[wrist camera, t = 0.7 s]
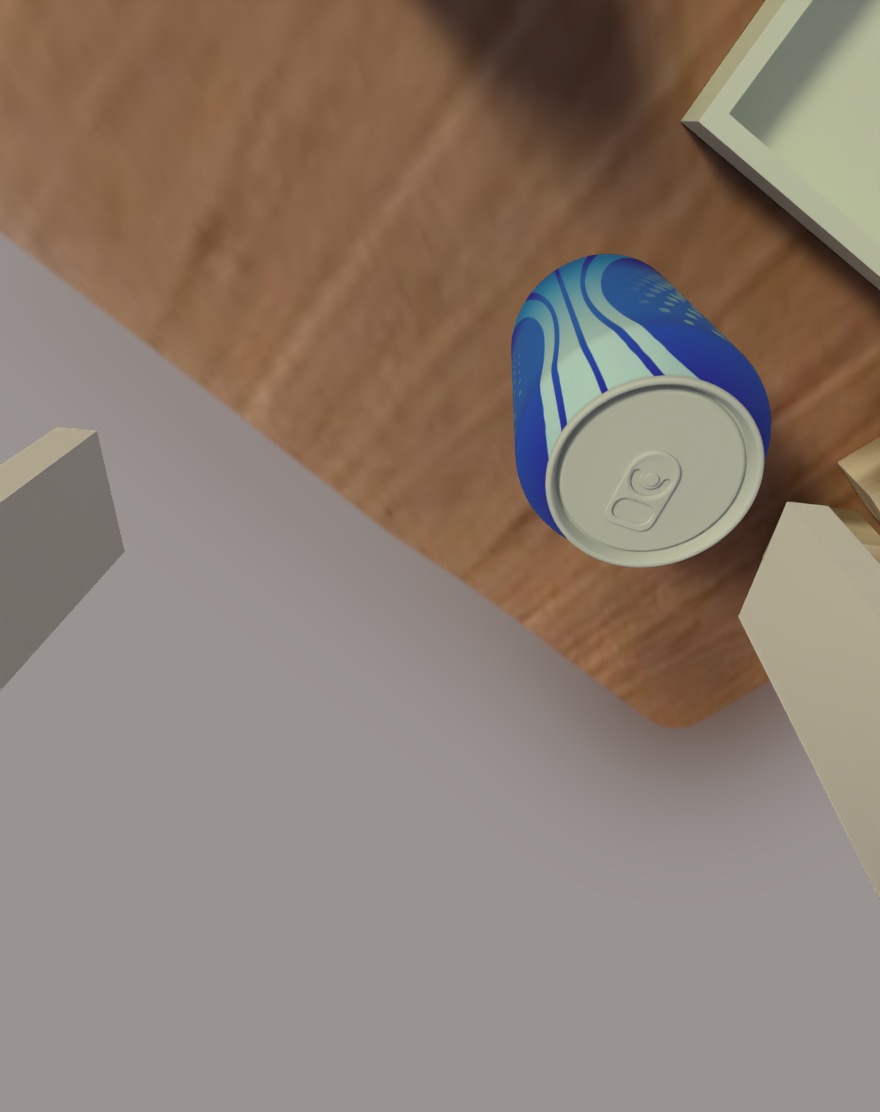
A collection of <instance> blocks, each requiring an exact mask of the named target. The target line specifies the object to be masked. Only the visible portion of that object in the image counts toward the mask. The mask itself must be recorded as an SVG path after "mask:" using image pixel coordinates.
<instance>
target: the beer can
mask: <svg viewBox="0 0 880 1112" xmlns="http://www.w3.org/2000/svg"><path fill="white" fill-rule="evenodd" d="M511 355H512V381H513V407H514V433H515V457H516V466H517V472H518V476H519V479H520V483H521V486H522V488H523V491H524V493H525V495H526V497H527V499H528V501H529V503H530V505H531V506H532V507H533V509H534V510H535V512H536V513H537V514H538V515H539V516H540V518H541V519H542V520H543V521H544V522H545V523H546V524H547V525H549V526H550V527H551V528H552V529H553V530H554V531H556V532H557V533H558V534H560V535H561V536H563V537H565V538H566V539H568V540H569V541H570V542H571V543H572V544H574V545H575V546H576V547H577V548H579V549H580V550H581V551H583V552H585V553H586V554H588V555H590V556H592V557H594V558H596V559H598V560H601V561H604V562H607V563H610V564H614V565H619V566H626V567H655V566H662V565H667V564H672V563H675V562H679V561H682V560H685V559H687V558H690V557H692V556H695V555H697V554H699V553H701V552H703V551H704V550H706V549H708V548H710V547H711V546H713V545H714V544H716V543H717V542H719V541H720V540H721V539H722V538H724V537H725V536H726V535H727V534H728V533H729V532H731V531H732V530H733V529H734V528H735V527H736V526H737V524H738V523H739V522H740V521H741V520H742V519H743V517H744V516H745V515H746V513H747V512H748V510H749V509H750V507H751V505H752V504H753V502H754V500H755V498H756V496H757V493H758V490H759V488H760V485H761V481H762V477H763V471H764V462H765V459H766V455H767V452H768V448H769V442H770V434H771V414H770V407H769V401H768V397H767V394H766V391H765V388H764V386H763V384H762V382H761V380H760V378H759V376H758V374H757V372H756V371H755V369H754V368H753V366H752V365H751V363H750V362H749V361H748V360H747V359H746V357H745V356H744V355H743V354H742V353H741V352H740V351H739V350H738V349H737V348H736V347H735V346H734V345H733V344H732V343H731V342H729V341H728V340H727V339H726V338H725V337H724V336H723V335H722V334H721V333H720V332H719V331H718V330H717V329H716V328H715V327H714V326H713V325H712V324H711V323H710V322H709V321H708V320H707V319H706V318H705V317H704V316H703V315H702V314H701V313H700V312H699V311H698V310H697V309H696V308H695V307H694V306H693V305H692V304H691V303H690V302H689V301H687V300H686V299H685V298H684V297H683V296H682V295H681V294H680V293H679V292H678V291H677V290H676V289H675V288H674V287H673V286H672V285H671V284H670V283H669V282H668V281H667V280H666V279H665V278H664V277H663V276H662V275H661V274H660V273H659V272H657V271H656V270H655V269H653V268H652V267H651V266H649V265H647V264H645V263H644V262H641V261H639V260H637V259H634V258H631V257H628V256H622V255H615V254H599V255H592V256H587V257H583V258H580V259H577V260H574V261H572V262H569V263H567V264H565V265H563V266H562V267H560V268H558V269H557V270H555V271H554V272H552V273H551V274H549V275H548V276H547V277H546V278H545V279H544V280H542V281H541V282H540V283H539V284H538V286H537V287H536V288H535V289H534V290H533V291H532V293H531V294H530V295H529V297H528V298H527V300H526V301H525V303H524V305H523V306H522V308H521V310H520V313H519V315H518V317H517V320H516V323H515V326H514V331H513V336H512V346H511Z"/></svg>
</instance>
